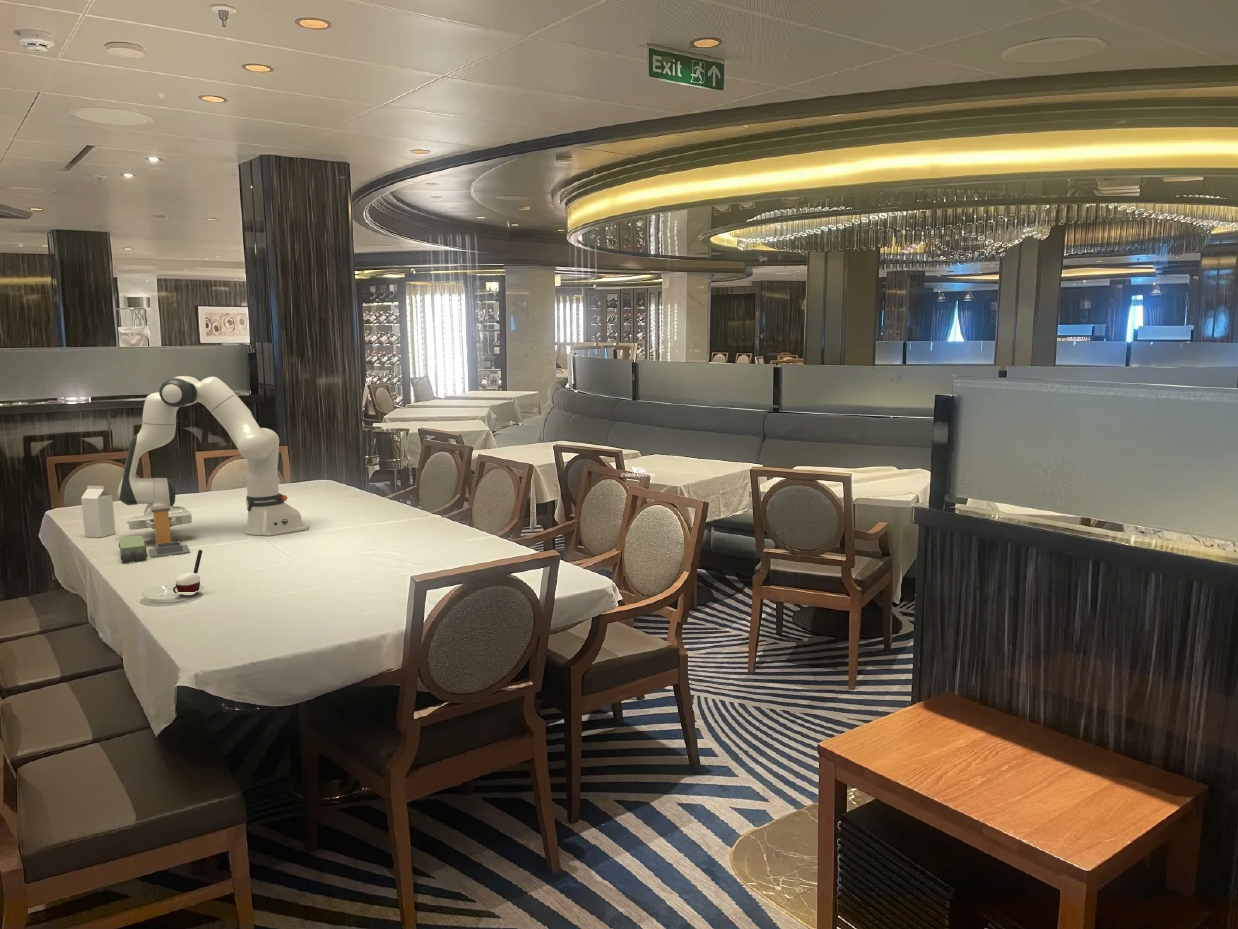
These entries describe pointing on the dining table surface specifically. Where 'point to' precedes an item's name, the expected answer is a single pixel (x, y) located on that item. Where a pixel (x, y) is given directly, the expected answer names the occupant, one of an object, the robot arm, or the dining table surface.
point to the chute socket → (169, 549)
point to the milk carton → (98, 512)
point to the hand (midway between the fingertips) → (161, 524)
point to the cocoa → (189, 579)
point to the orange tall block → (161, 523)
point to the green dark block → (132, 549)
